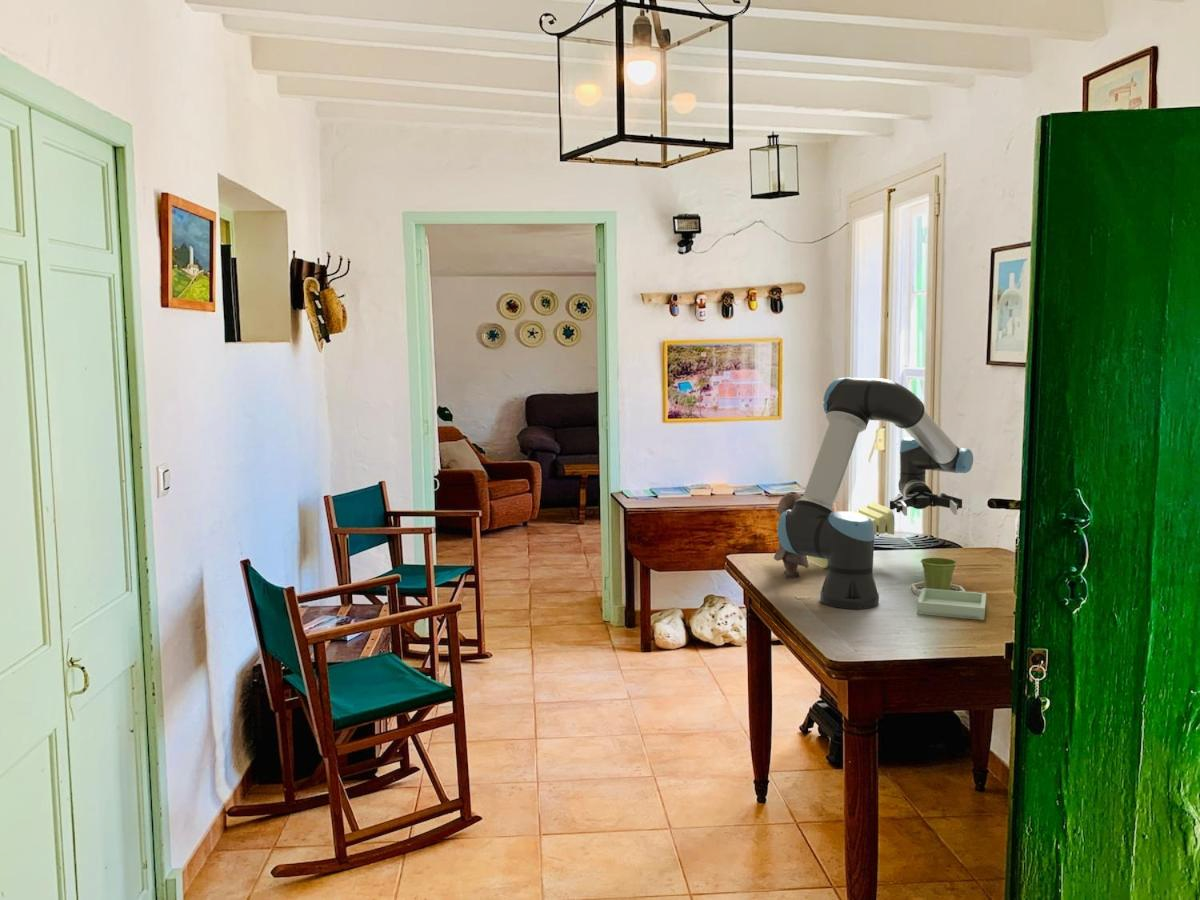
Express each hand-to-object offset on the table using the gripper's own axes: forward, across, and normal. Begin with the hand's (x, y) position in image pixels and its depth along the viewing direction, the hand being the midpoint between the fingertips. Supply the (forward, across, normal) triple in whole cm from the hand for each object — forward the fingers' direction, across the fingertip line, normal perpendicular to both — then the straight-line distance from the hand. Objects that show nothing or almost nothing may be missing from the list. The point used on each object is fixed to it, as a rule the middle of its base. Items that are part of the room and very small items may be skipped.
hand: (930, 510), depth 291 cm
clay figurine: (-3, +39, -20) cm, 44 cm away
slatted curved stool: (-22, +25, -22) cm, 39 cm away
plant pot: (+10, 0, -21) cm, 23 cm away
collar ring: (+10, 0, -21) cm, 23 cm away
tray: (+28, 0, -20) cm, 34 cm away
